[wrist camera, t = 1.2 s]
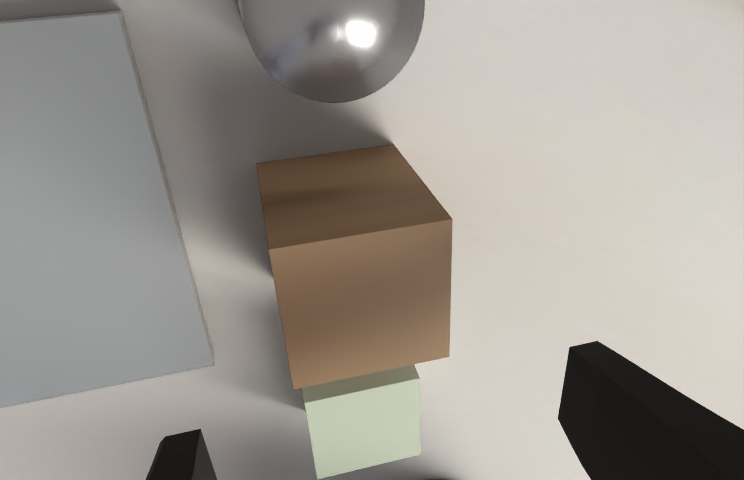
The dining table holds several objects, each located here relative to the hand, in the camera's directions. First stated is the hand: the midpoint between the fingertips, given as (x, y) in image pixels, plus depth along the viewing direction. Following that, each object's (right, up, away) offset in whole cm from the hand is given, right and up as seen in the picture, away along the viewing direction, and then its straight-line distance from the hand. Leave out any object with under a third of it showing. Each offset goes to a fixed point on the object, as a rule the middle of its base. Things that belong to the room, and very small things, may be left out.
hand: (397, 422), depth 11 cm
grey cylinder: (-2, +10, +5) cm, 12 cm away
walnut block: (-2, +4, +8) cm, 10 cm away
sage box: (-2, -2, +12) cm, 12 cm away
